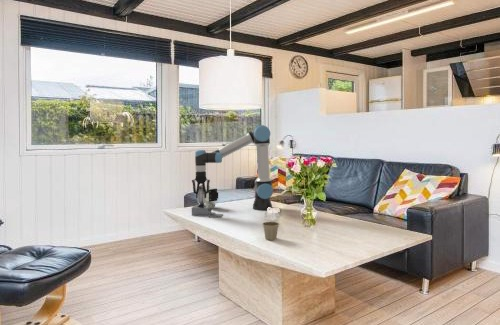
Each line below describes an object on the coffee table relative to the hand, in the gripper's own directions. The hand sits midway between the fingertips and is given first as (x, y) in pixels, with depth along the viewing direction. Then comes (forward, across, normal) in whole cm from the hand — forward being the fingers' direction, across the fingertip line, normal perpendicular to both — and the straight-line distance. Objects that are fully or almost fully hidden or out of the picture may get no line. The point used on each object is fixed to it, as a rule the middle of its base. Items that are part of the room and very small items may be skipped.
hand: (201, 202), depth 268 cm
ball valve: (+9, -2, -21) cm, 23 cm away
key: (+5, 0, 0) cm, 5 cm away
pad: (+8, -12, +6) cm, 16 cm away
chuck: (+8, 0, 0) cm, 8 cm away
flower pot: (+8, -53, +62) cm, 82 cm away
